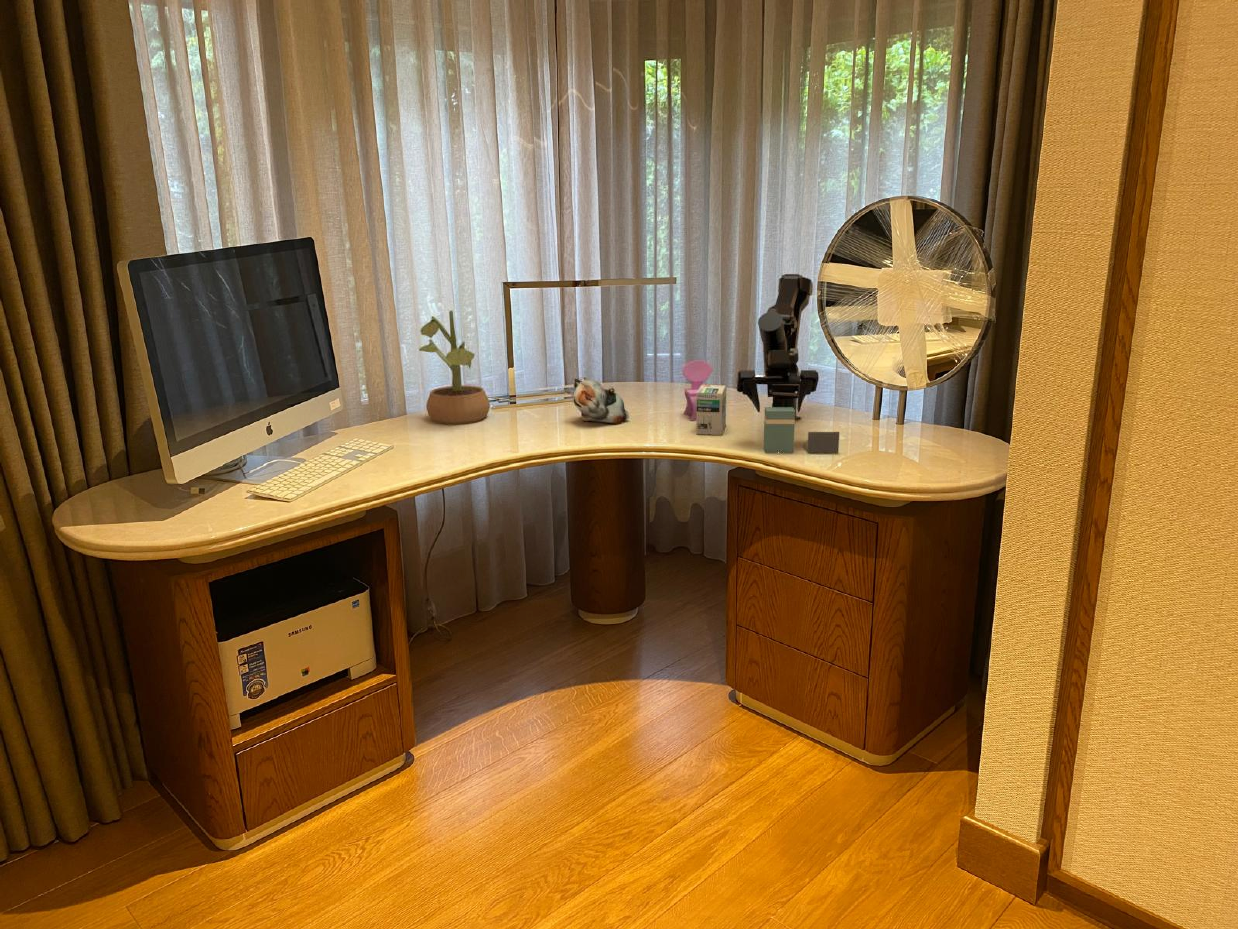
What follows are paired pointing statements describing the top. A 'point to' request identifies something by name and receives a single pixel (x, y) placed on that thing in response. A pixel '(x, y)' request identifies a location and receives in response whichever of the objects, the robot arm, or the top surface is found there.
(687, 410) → the toy chair
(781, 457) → the top surface
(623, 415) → the lucky cat figurine
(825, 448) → the bookend
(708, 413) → the light bulb box
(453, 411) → the potted plant
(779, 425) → the green striped box
